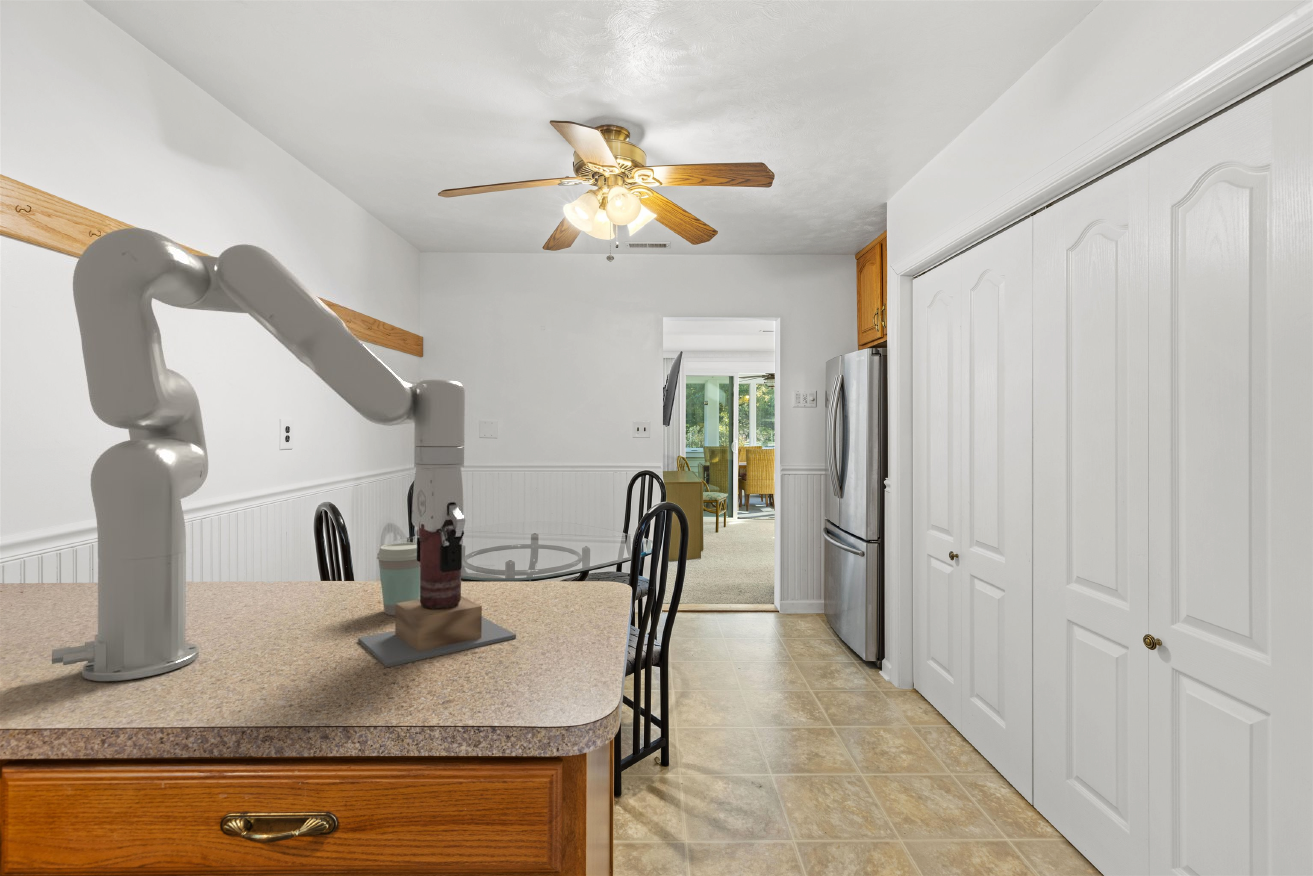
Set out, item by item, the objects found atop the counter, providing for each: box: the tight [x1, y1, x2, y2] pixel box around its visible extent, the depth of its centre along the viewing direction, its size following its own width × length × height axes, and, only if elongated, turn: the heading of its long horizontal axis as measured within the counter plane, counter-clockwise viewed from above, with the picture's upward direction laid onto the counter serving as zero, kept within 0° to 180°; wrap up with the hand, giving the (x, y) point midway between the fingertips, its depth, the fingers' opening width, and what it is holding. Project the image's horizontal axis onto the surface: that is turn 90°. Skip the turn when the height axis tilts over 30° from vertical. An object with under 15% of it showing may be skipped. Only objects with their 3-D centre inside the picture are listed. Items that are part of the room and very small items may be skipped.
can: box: [419, 519, 462, 610], centre depth 99 cm, size 6×6×14 cm
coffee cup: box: [376, 542, 420, 616], centre depth 115 cm, size 9×9×12 cm
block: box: [394, 595, 483, 651], centre depth 100 cm, size 10×10×5 cm
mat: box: [357, 616, 517, 668], centre depth 100 cm, size 20×14×1 cm
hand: (438, 565), depth 100 cm, fingers open, 9 cm apart
